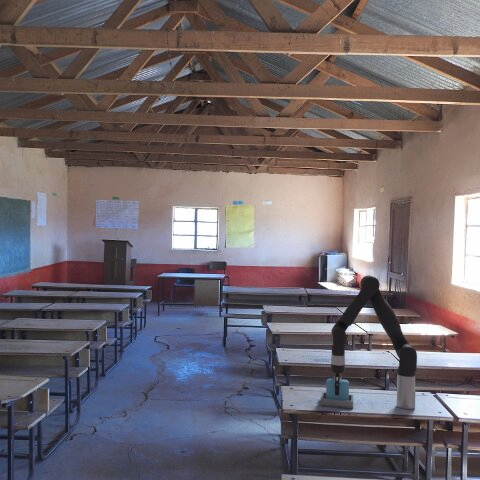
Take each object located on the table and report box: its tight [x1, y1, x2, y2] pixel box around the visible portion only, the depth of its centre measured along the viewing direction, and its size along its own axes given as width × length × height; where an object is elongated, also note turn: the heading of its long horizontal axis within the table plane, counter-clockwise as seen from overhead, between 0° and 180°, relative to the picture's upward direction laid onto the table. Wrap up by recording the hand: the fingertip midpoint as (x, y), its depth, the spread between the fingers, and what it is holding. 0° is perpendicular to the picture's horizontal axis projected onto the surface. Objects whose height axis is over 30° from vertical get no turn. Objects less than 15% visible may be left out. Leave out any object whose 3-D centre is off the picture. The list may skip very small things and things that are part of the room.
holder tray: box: [319, 391, 354, 410], centre depth 272 cm, size 17×12×4 cm
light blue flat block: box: [325, 378, 350, 401], centre depth 272 cm, size 12×4×12 cm, turn 79°
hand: (337, 392), depth 272 cm, fingers open, 8 cm apart
